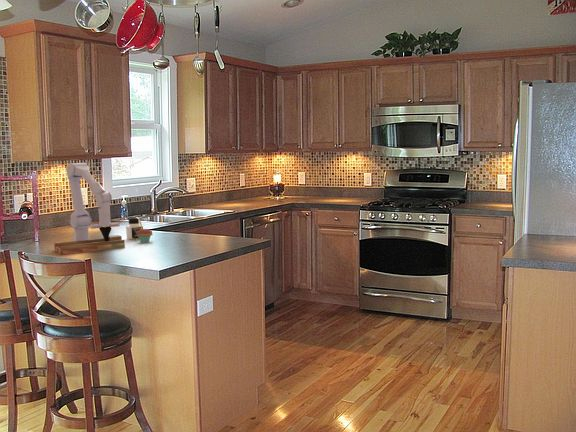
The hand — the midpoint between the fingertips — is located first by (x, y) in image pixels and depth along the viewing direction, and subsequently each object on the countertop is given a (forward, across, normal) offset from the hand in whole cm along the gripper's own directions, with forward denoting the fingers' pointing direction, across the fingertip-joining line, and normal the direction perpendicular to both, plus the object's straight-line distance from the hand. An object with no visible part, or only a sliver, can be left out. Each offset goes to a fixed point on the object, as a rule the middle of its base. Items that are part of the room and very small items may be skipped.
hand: (106, 241), depth 331 cm
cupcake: (+3, +22, +5) cm, 23 cm away
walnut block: (+1, +4, 0) cm, 4 cm away
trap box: (+3, -8, 0) cm, 9 cm away
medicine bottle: (+3, +22, +21) cm, 31 cm away
